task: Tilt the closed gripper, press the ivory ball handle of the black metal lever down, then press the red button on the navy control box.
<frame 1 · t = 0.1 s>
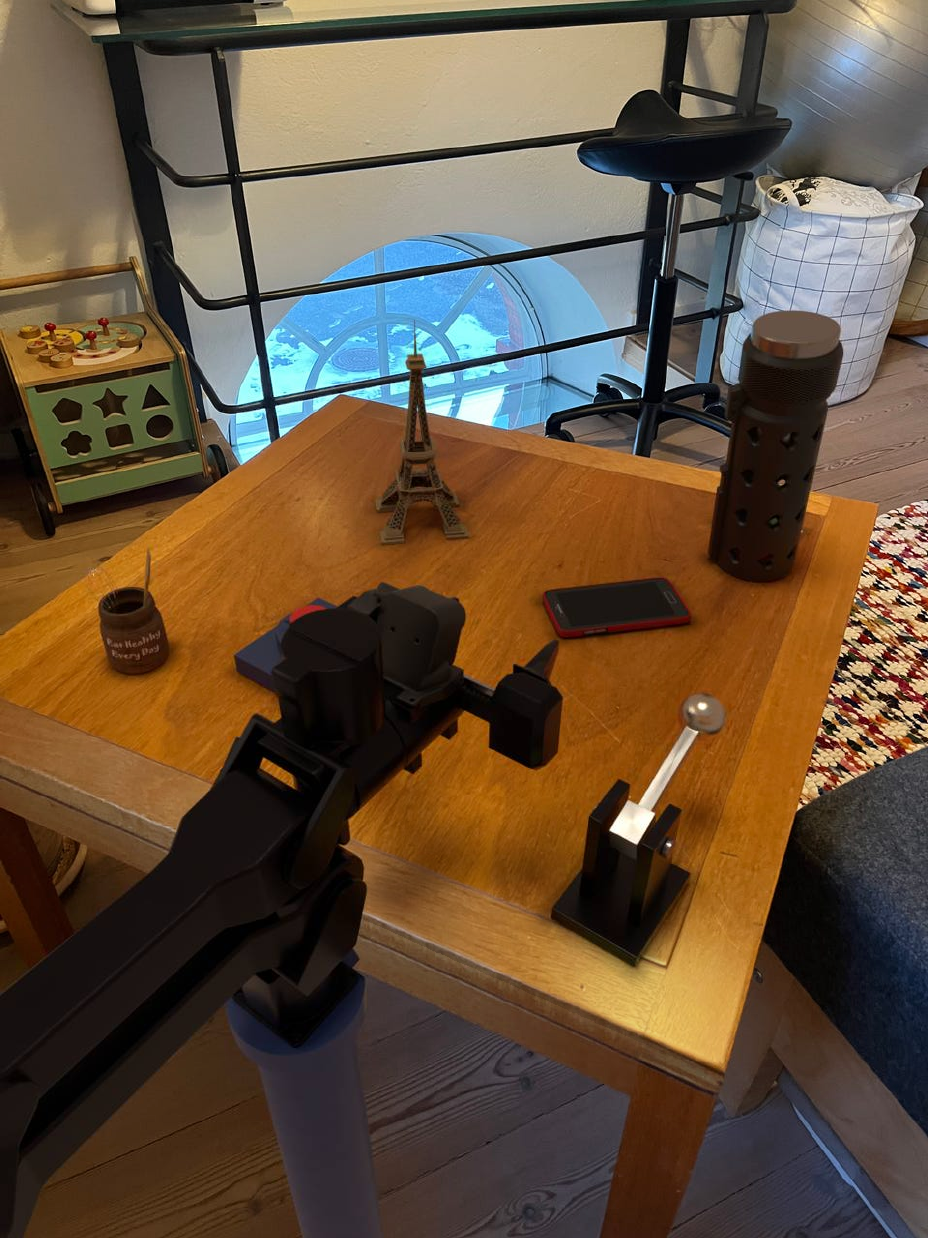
hand: (505, 622, 70), 16 cm above the table, tool horizontal, fingers open, 9 cm apart
eiffel tower: (420, 520, 114), on the table
puzzle cube: (758, 528, 113), on the table
control box: (315, 659, 92), on the table
power strip: (750, 560, 107), on the table
lever: (669, 769, 67), point 9 cm above the table, hinge at 15.0°
button: (311, 624, 89), point 4 cm above the table, slide at 0.1 cm
utensil holder: (142, 658, 92), on the table
bracket: (620, 900, 69), on the table
cell phone: (614, 611, 99), on the table
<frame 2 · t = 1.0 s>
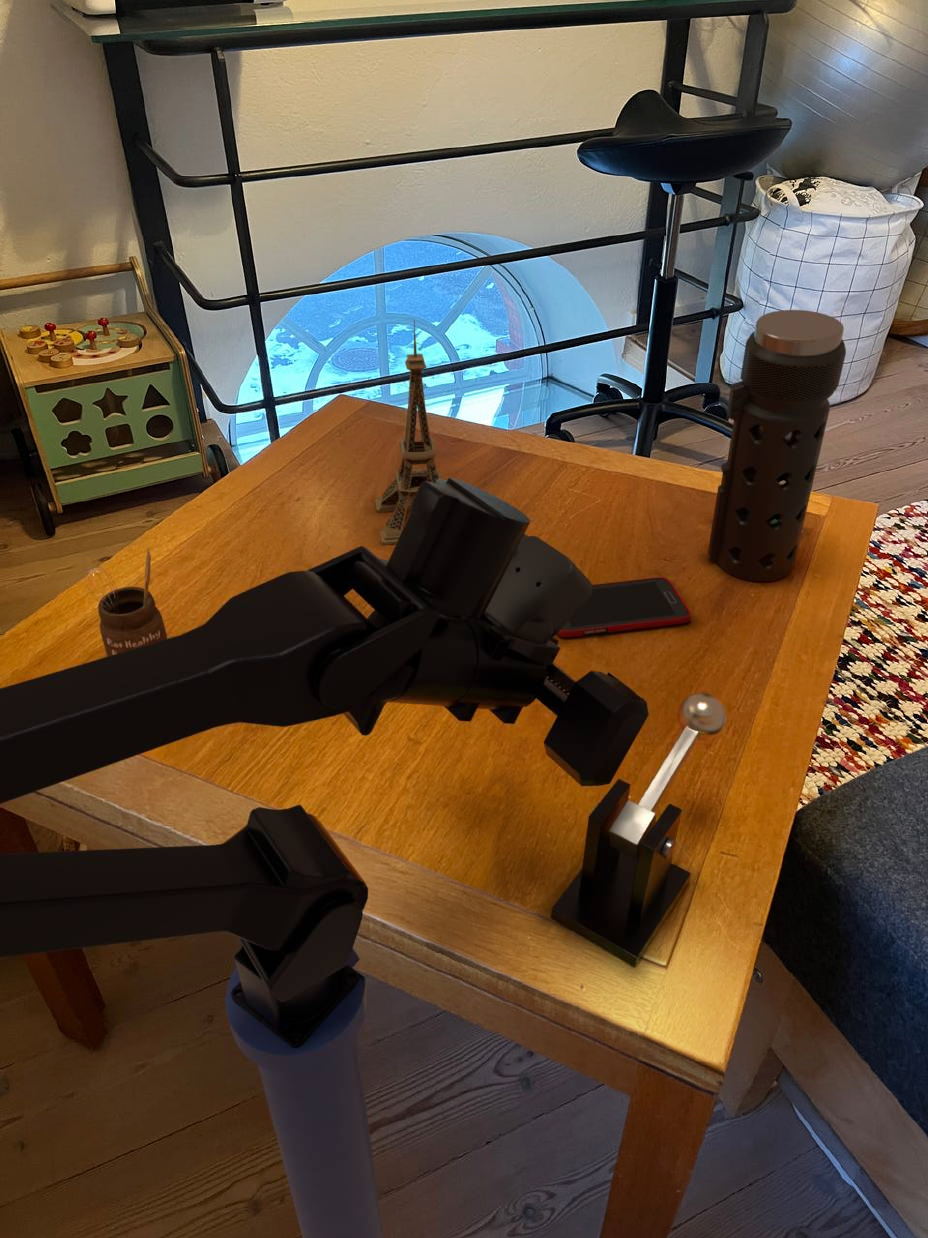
hand: (596, 677, 67), 15 cm above the table, tool tilted 60°, fingers open, 9 cm apart
puzzle cube: (758, 528, 113), on the table, touching power strip
power strip: (749, 560, 107), on the table, touching puzzle cube
everything else where it was.
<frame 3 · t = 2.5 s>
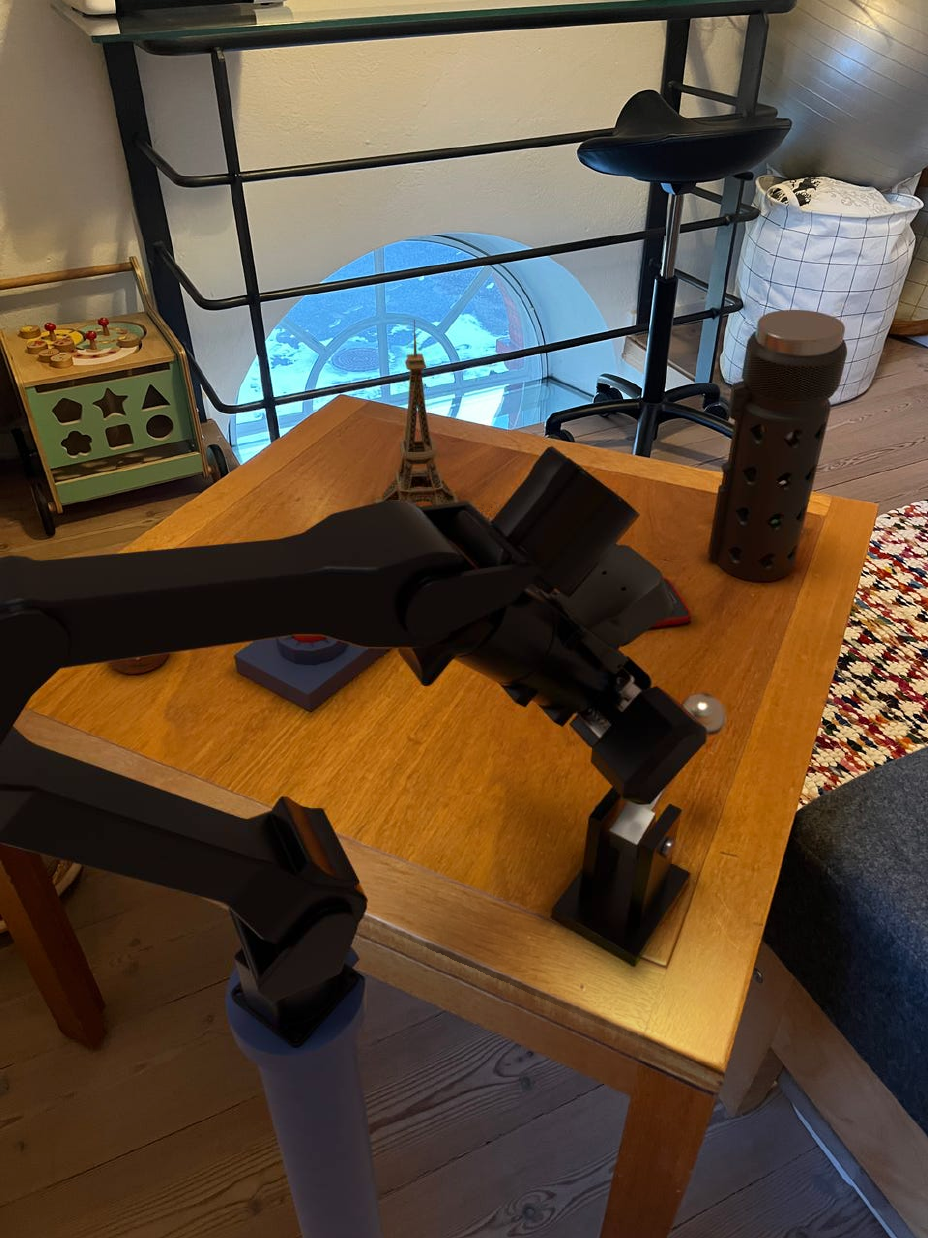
hand: (642, 714, 65), 14 cm above the table, tool tilted 45°, fingers closed
puzzle cube: (758, 528, 113), on the table
power strip: (749, 560, 107), on the table
everything else where it was.
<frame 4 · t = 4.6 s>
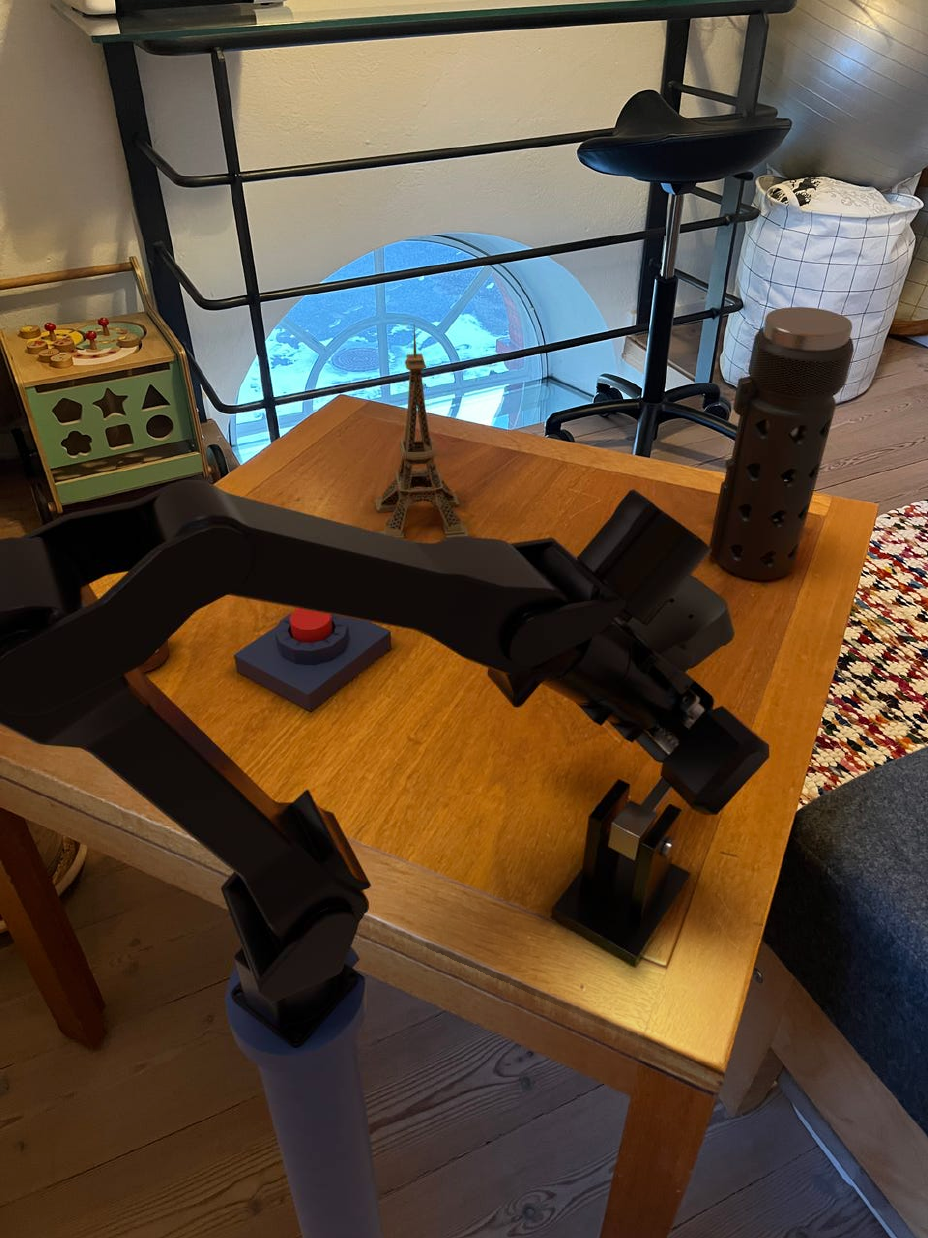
hand: (698, 729, 70), 10 cm above the table, tool tilted 45°, fingers closed
puzzle cube: (758, 529, 113), on the table, touching power strip
power strip: (750, 559, 107), on the table, touching puzzle cube
lever: (667, 783, 68), point 8 cm above the table, hinge at -2.4°, touching gripper
everything else where it was.
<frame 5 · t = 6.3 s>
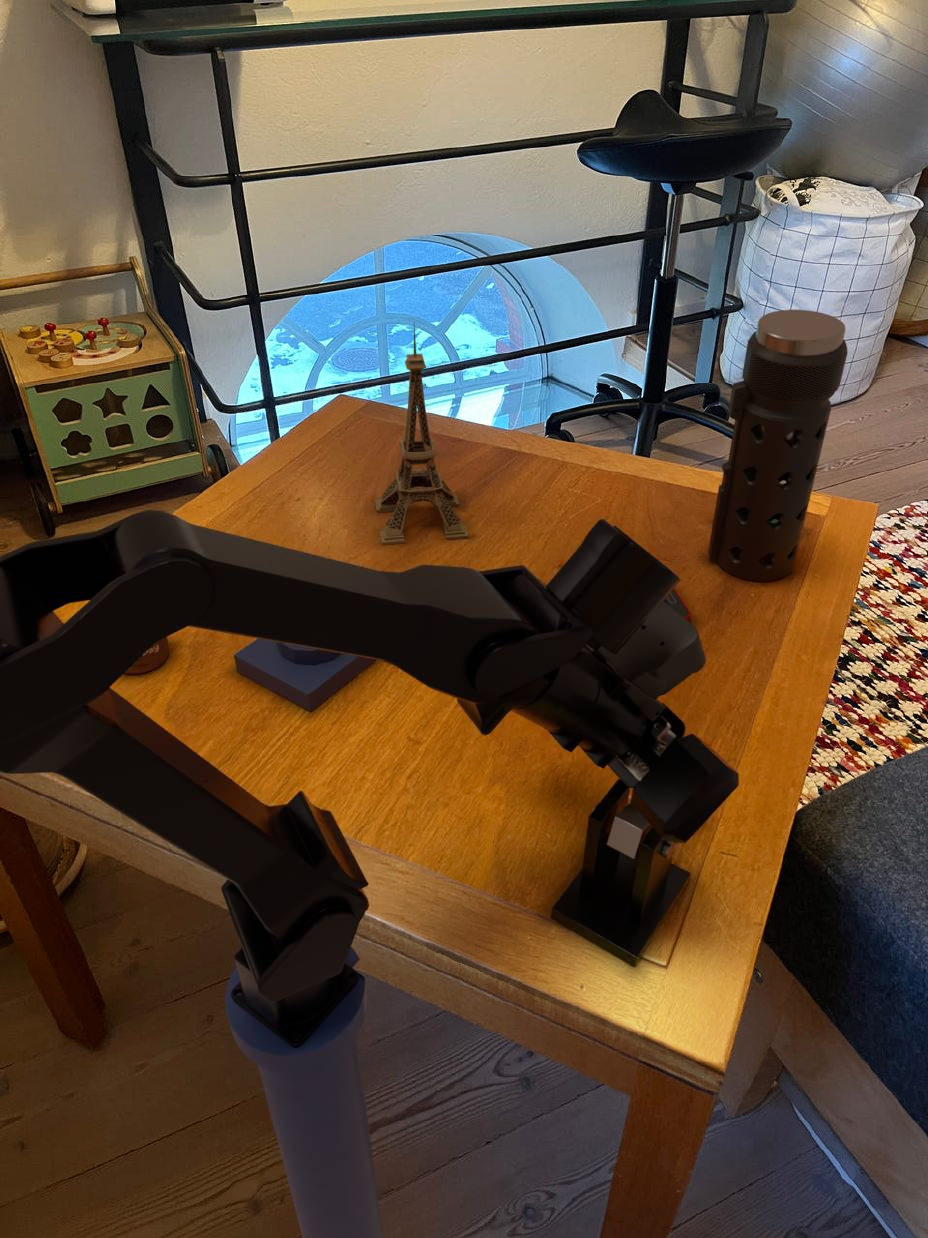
hand: (672, 753, 70), 8 cm above the table, tool tilted 45°, fingers closed
lever: (663, 800, 69), point 6 cm above the table, hinge at -18.4°
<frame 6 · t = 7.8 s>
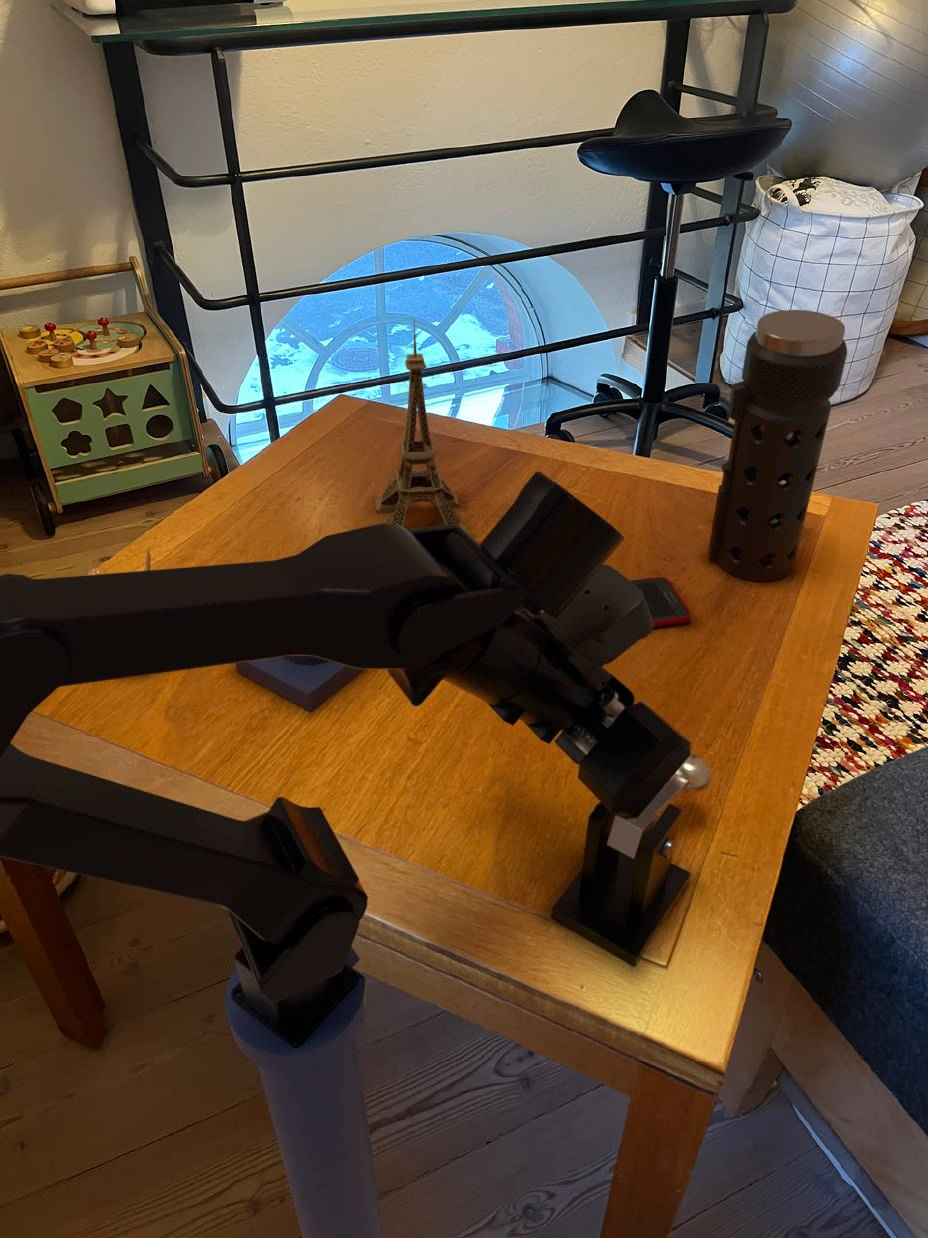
hand: (624, 730, 67), 12 cm above the table, tool tilted 45°, fingers closed
power strip: (750, 560, 107), on the table, touching puzzle cube
everything else where it was.
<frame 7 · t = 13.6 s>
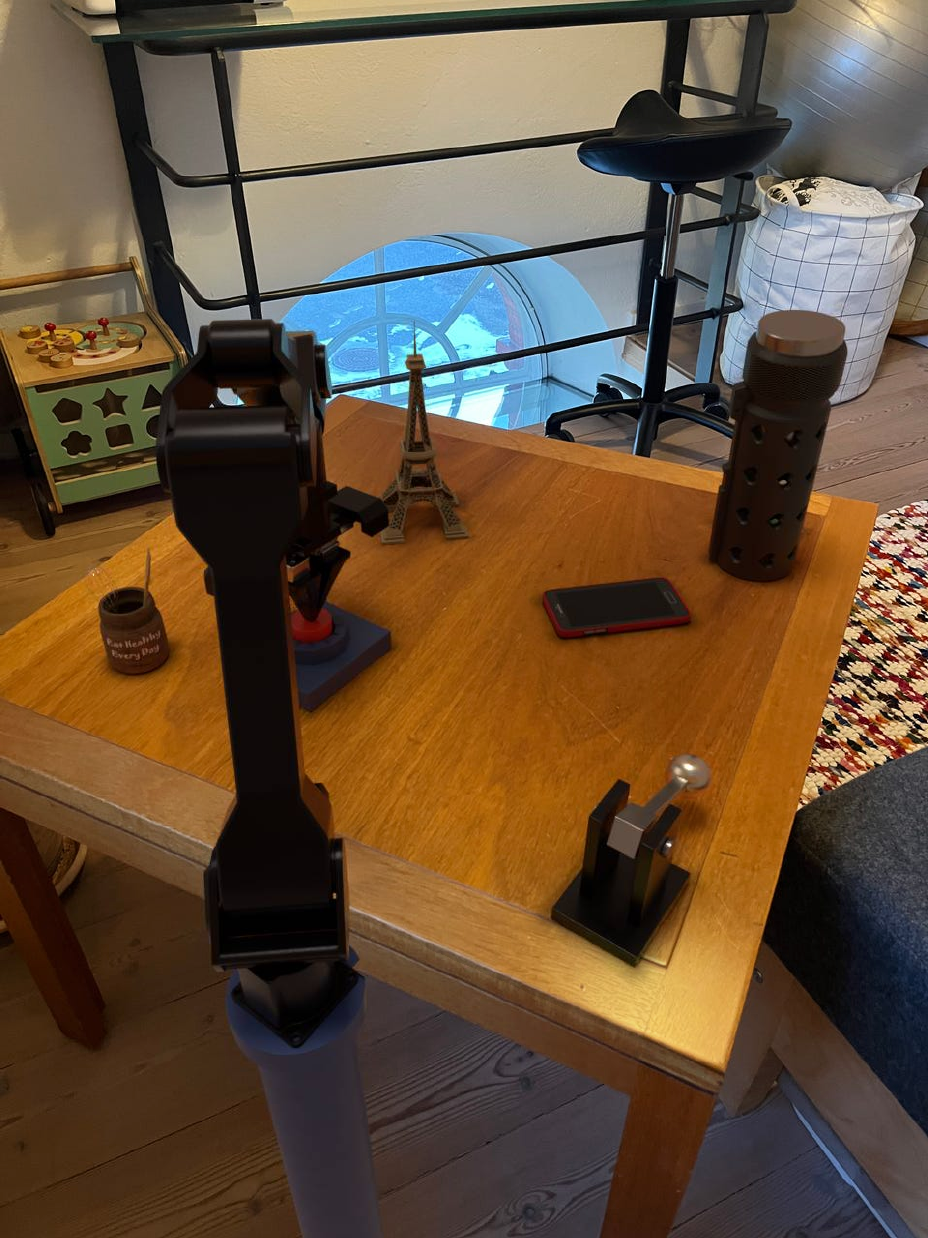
hand: (310, 619, 89), 5 cm above the table, tool pointing down, fingers closed, pressing on button
button: (311, 625, 89), point 4 cm above the table, slide at -0.1 cm, touching gripper
everything else where it was.
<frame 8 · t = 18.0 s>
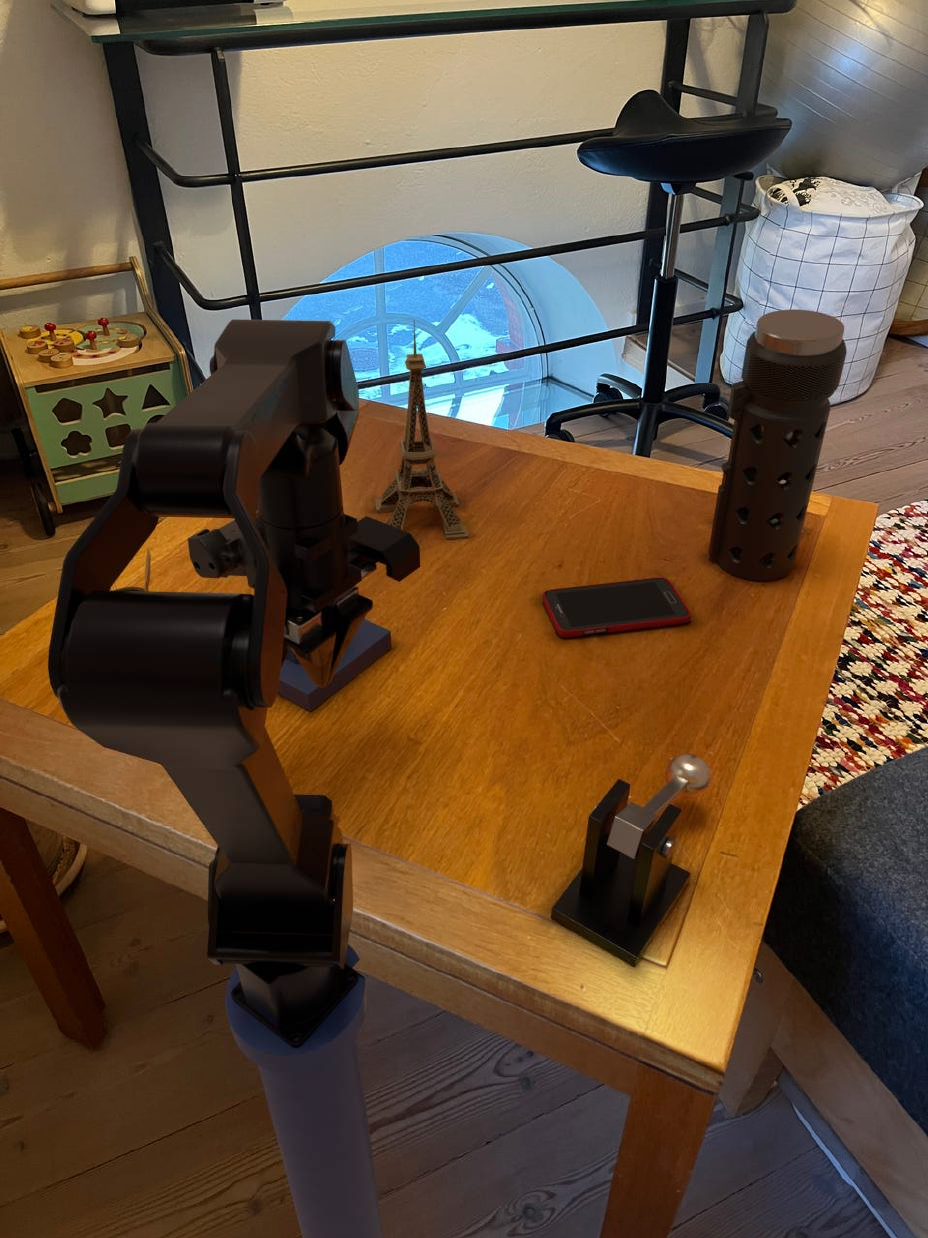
hand: (321, 683, 71), 12 cm above the table, tool pointing down, fingers closed
button: (311, 624, 89), point 4 cm above the table, slide at 0.1 cm
everything else where it was.
at the end: lever at -18° (first picture: +15°); button pushed in 1.1 cm at the most during the clip, back to where it started at the end; button slide at 0.1 cm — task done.
